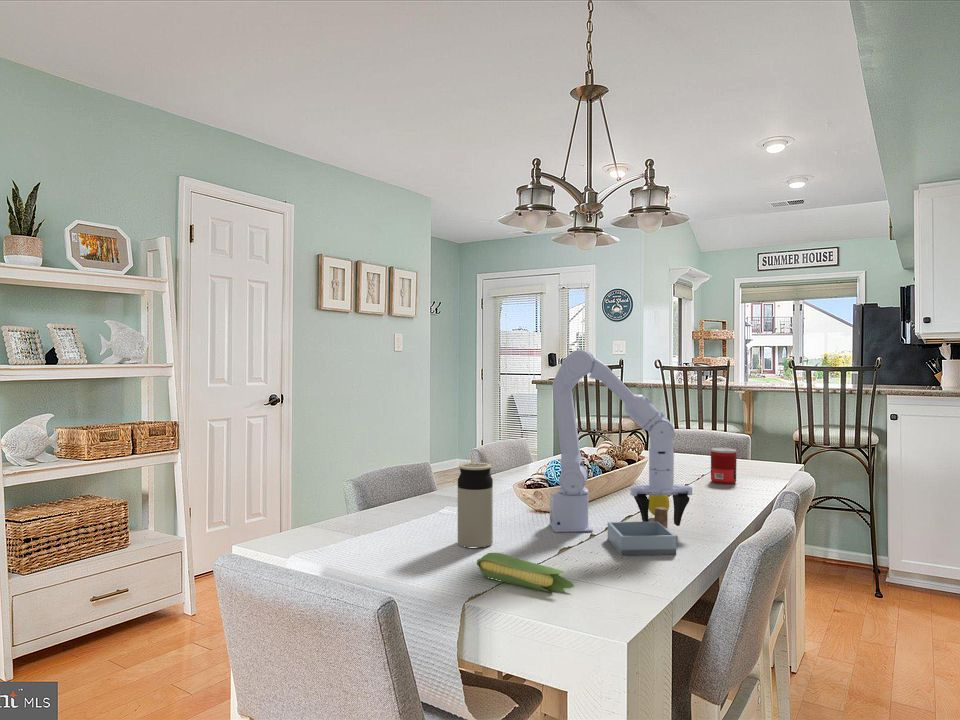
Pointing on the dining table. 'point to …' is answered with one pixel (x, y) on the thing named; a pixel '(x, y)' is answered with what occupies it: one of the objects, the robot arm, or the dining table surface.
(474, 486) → the travel mug
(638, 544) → the tray
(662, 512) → the peg
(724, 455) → the canned food
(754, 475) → the dining table surface
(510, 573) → the edible corn
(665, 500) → the lemon
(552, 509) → the robot arm
